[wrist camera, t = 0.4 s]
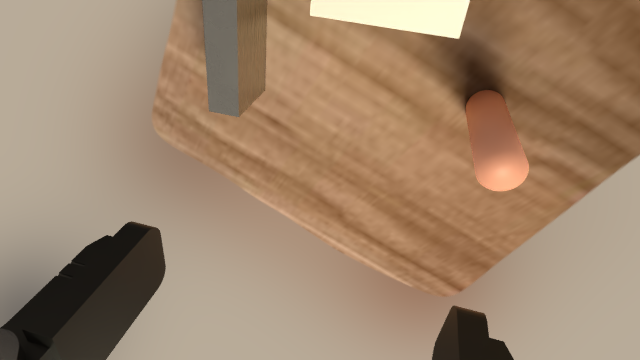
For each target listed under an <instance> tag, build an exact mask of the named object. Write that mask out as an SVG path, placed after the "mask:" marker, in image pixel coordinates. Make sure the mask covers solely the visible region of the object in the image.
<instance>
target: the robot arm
mask: <svg viewBox="0 0 640 360" xmlns="http://www.w3.org/2000/svg"><path fill="white" fill-rule="evenodd" d="M165 267H166V266H165V259H164V253H163V247H162V240H161V233H160V230H159V229H158V228H155V227H151V226H147V225H144V224H140V223H136V222H128V223H127V224H125V225H124V226H123V227H122V228H121V229H120V230H119V231H118V232H117V233H116V234H115V235H114V236H113V237H112V236H108V235H106V236H104V237H102V238H101V239H99V240H97V241H95V242H93V243H91V244H90V245H88V246H86V247H85V248H84V249H83V250H82V251H81V252H80V253H79V254H78V255H77V256H76V257H75V258H74V259H73V260H72V262H71V264H68V265H67V266H65V267H64V268H63V269H62V270H61V271H60V272H59V275H58V276H55V277H54V278H53V279H52V280H51V281H50V282H49V283H48V284H47V285H46V286H45V287H44V288H43V289H42V290H41V291H40V292H38V293H37V294H36V296H34V297H33V298H32V299H31V300H30V301H29V302H28V303H27V304H26V305H25V306H24V307H23V308H22V309H21V310H20V311H19V312H18V313H17V314H16V315H15V316H13V317H12V319H10V321H8V322H7V323H6V324H5V325H4V326H2V327H1V328H0V360H106V359H107V357H108V356H109V355H110V353H111V352H112V351H113V349H114V348H115V346H116V345H117V344H118V342H119V341H120V340H121V338H122V337H123V336H124V334H125V333H126V331H127V330H128V329H129V327H130V326H131V325H132V323H133V322H134V320H135V319H136V318H137V316H138V315H139V314H140V312H141V311H142V310H143V308H144V307H145V306H146V304H147V303H148V301H149V300H150V299H151V297H152V296H153V295H154V293H155V292H156V291H157V289H158V288H159V286H160V284H161V282H162V280H163V278H164V274H165ZM432 360H514V359H513V357H512V356H511V354H510V352H509V350H508V348H507V347H506V345H505V343H504V342H503V341H499V340H496V339H492V338H489V334H488V325H487V319H486V316H485V314H484V313H481V312H477V311H473V310H469V309H465V308H461V307H457V306H452V308H451V310H450V312H449V314H448V316H447V318H446V320H445V322H444V324H443V327H442V329H441V331H440V333H439V335H438V338H437V340H436V342H435V346H434V350H433V357H432Z"/></svg>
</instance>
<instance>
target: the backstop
mask: <svg viewBox="0 0 640 360" xmlns="http://www.w3.org/2000/svg"><path fill="white" fill-rule="evenodd" d="M202 4H203V20H204V37H205V53H206V69H207V85H208V102H209V111H211V112H216V113H221V114H226V115H231V116H236V117H239V116H240V115H241V114H242V113H243V112H244V111H245V110H246V109H247V108H248V107H249V106H250V105H251V104H252V103H253V102H254V101H255V100H256V99H257V98H258V97H259V96H260V95H261V94H262V93H263V92H264V91H265V69H266V22H267V0H202Z"/></svg>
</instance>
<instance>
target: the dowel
mask: <svg viewBox="0 0 640 360" xmlns="http://www.w3.org/2000/svg"><path fill="white" fill-rule="evenodd" d="M466 116H467V123H468V129H469V135H470V142H471V148H472V154H473V161H474V167H475V173H476V177H477V180H478V181H479V183H480V184H481V185H482V186H484V187H485V188H487V189H490V190H494V191H506V190H510V189H513V188H515V187H517V186H519V185H520V184H521V183H522V182H523V181H524V180H525V179H526V177H527V175H528V172H529V164H528V161H527V159H526V156H525V153H524V151H523V148H522V146H521V143H520V140H519V138H518V135H517V132H516V130H515V127H514V124H513V122H512V119H511V116H510V114H509V111H508V108H507V106H506V103H505V101H504V98H503V97H502V96H501V95H500V94H499V93H498V92H496V91H492V90H483V91H479V92H477V93H475V94H474V95H473V96H471V97H470V99H469V100H468V102H467V104H466Z"/></svg>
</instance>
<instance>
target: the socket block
mask: <svg viewBox="0 0 640 360" xmlns="http://www.w3.org/2000/svg"><path fill="white" fill-rule="evenodd" d="M469 2H470V0H311V8H310V16H317V17H323V18H330V19H336V20H342V21H349V22H355V23H361V24H368V25H374V26H380V27H387V28H393V29H399V30H406V31H412V32H419V33H425V34H431V35H438V36H444V37H450V38H457V39H459V37H460V33H461V30H462V26H463V23H464V19H465V16H466V12H467V9H468V5H469Z"/></svg>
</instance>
